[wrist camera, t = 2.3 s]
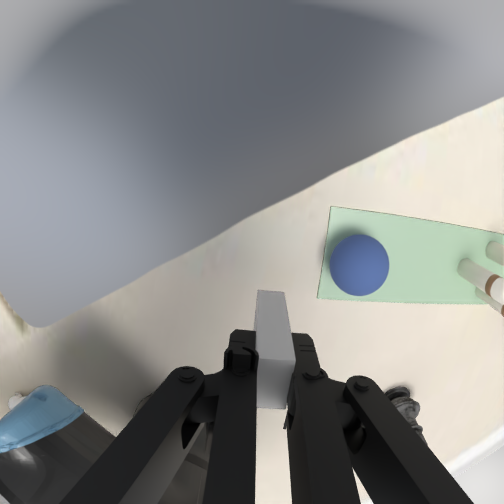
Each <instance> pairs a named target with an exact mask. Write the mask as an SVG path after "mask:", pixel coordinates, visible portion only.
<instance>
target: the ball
mask: <svg viewBox="0 0 504 504" xmlns="http://www.w3.org/2000/svg"><path fill="white" fill-rule="evenodd" d="M329 265H330V274H331V277H332V279H333V281H334V283H335V284H336V285H337V286H338V287H339V288H340V289H341V290H342V291H344V292H345V293H347V294H350V295H353V296H365V295H369V294H371V293H373V292H375V291H376V290H378V289H379V288H380V287H381V286H382V285H383V283H384V282H385V280H386V278H387V276H388V272H389V258H388V254H387V252H386V250H385V248H384V247H383V245H382V244H381V243H380V242H379V241H378V240H376V239H375V238H373V237H371V236H368V235H362V234H357V235H352V236H349V237H347V238H345V239H343V240H342V241H340V242H339V243H338V244H337V246H336V247H335V248H334V250H333V252H332V254H331V257H330V264H329Z"/></svg>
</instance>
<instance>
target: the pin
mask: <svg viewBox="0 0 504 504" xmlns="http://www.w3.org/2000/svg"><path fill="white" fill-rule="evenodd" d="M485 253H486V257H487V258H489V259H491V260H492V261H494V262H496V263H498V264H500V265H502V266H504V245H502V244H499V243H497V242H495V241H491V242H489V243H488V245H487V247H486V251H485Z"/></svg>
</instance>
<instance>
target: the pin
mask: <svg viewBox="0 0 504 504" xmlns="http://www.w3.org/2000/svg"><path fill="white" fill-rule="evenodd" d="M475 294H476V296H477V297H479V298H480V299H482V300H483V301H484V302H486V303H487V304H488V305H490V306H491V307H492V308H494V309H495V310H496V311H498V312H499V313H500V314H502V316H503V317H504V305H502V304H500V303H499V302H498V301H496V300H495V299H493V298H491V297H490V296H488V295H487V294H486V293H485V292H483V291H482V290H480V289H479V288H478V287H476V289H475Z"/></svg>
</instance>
